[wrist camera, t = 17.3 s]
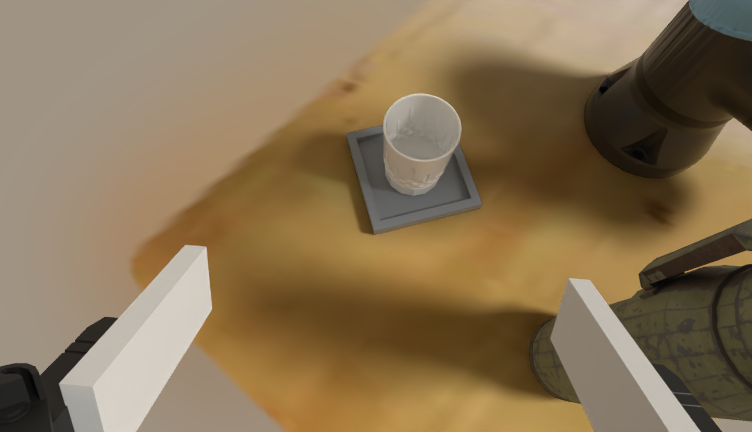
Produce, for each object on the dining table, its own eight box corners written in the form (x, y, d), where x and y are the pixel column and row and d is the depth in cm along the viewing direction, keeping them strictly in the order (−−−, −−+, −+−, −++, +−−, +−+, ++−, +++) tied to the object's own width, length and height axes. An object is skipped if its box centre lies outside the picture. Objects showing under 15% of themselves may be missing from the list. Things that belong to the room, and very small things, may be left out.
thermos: (554, 288, 50) (923, 109, 17) (639, 373, 47) (1282, 354, 14) (500, 342, 48) (803, 255, 15) (585, 434, 45) (1198, 580, 12)
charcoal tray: (444, 117, 57) (446, 110, 56) (479, 208, 53) (482, 203, 52) (346, 139, 56) (346, 133, 54) (373, 235, 51) (374, 230, 50)
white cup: (368, 156, 54) (369, 110, 45) (425, 133, 56) (438, 82, 46) (398, 211, 52) (405, 173, 43) (456, 184, 53) (476, 143, 44)
